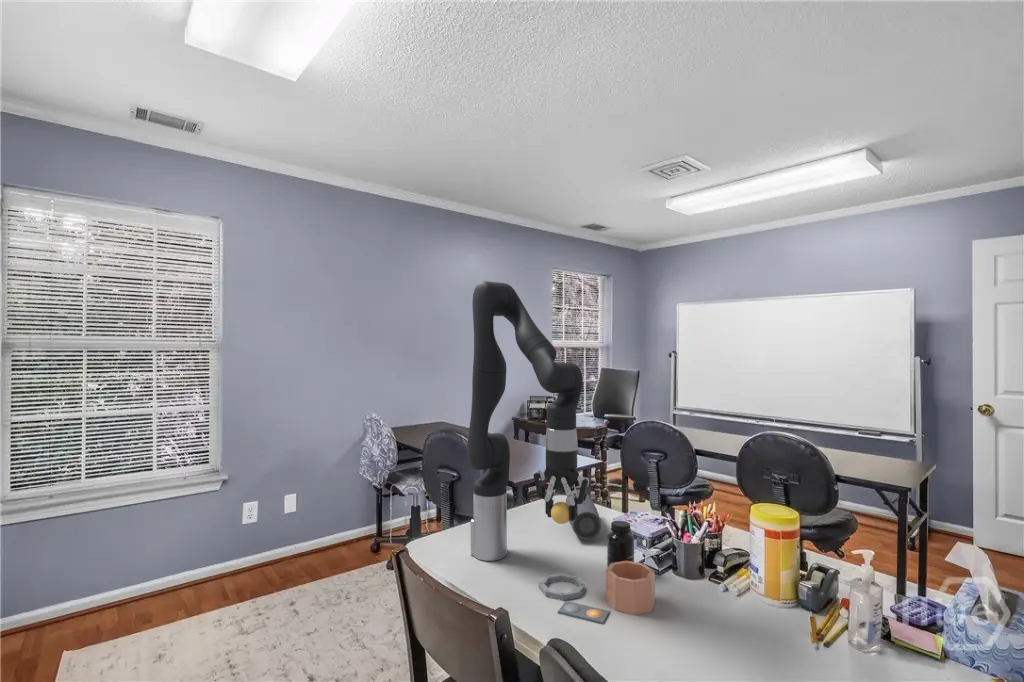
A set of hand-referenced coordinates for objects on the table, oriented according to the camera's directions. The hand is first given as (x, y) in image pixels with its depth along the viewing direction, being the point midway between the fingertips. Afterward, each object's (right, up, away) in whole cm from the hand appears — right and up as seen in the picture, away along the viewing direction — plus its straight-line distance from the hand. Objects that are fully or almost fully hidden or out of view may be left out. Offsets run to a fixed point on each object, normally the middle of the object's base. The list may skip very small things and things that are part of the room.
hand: (561, 517), depth 120 cm
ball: (0, +1, 0) cm, 1 cm away
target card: (+4, -17, -11) cm, 20 cm away
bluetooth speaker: (+10, -17, +38) cm, 43 cm away
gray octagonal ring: (0, -17, 0) cm, 17 cm away
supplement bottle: (+16, -17, +10) cm, 25 cm away
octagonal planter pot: (+15, -17, -6) cm, 23 cm away
